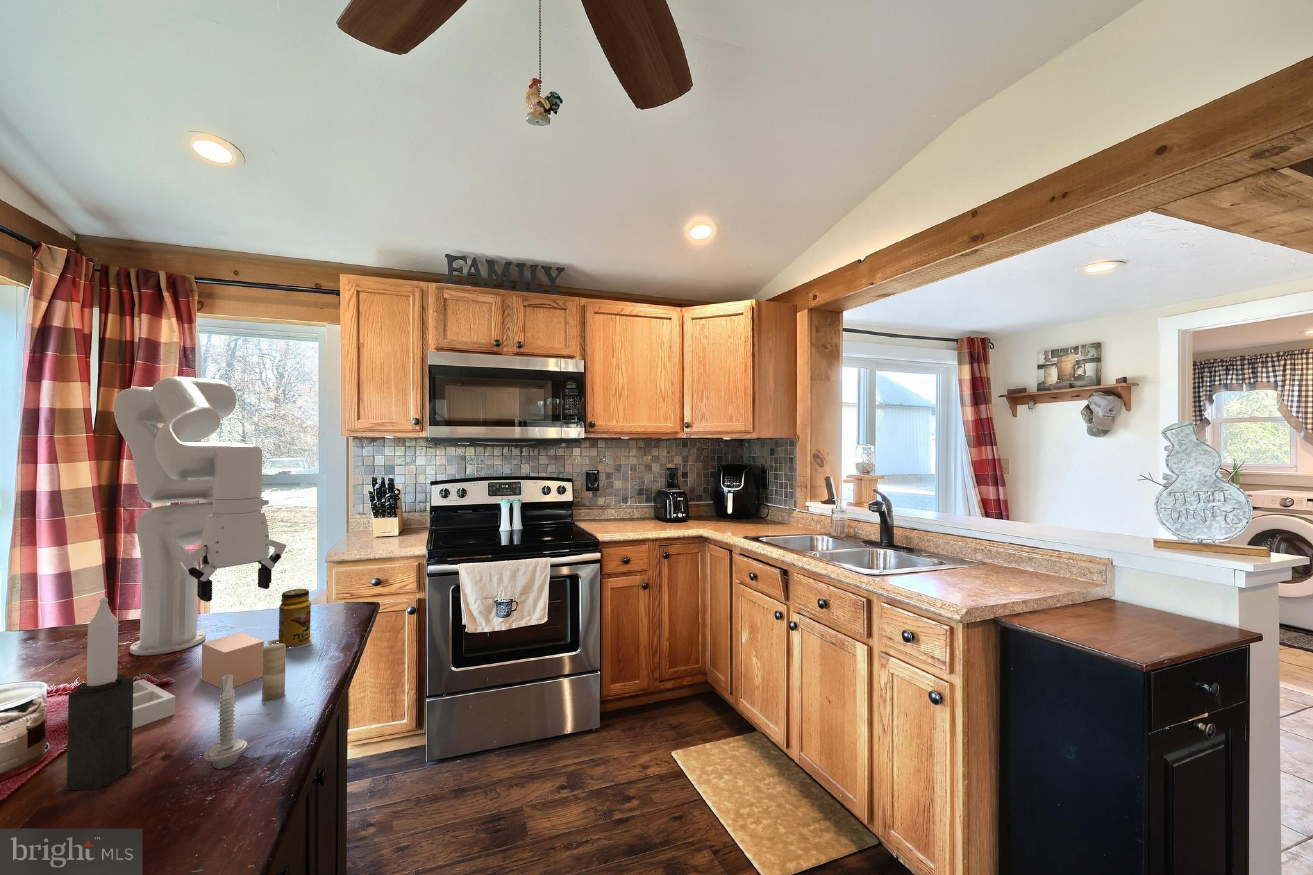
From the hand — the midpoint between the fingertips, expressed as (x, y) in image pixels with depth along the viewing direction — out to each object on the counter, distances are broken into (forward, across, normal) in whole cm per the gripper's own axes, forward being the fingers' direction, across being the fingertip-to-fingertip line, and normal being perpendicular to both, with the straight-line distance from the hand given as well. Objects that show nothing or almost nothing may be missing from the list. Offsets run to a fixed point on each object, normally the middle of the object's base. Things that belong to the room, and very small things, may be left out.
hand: (235, 593), depth 103 cm
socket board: (+17, +15, 0) cm, 22 cm away
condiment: (+17, -15, -10) cm, 25 cm away
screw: (+17, +14, +30) cm, 38 cm away
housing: (+17, 0, 0) cm, 17 cm away
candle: (+17, +24, +19) cm, 35 cm away
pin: (+16, 0, +14) cm, 22 cm away
